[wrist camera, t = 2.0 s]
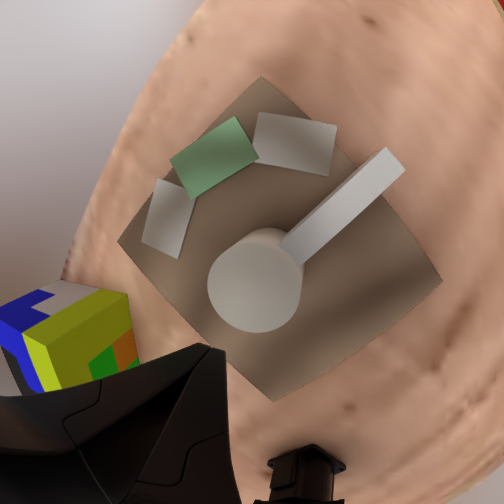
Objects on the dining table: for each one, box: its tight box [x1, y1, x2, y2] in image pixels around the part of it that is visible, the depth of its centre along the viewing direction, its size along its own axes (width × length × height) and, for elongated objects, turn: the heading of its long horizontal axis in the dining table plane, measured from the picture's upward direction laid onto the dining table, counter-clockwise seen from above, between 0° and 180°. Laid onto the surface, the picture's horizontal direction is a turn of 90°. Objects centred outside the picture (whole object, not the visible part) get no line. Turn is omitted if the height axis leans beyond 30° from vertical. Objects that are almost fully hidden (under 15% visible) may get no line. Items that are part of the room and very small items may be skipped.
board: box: [117, 76, 443, 402], centre depth 18 cm, size 18×17×2 cm
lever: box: [207, 147, 405, 333], centre depth 14 cm, size 11×4×5 cm, turn 135°
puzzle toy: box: [0, 280, 140, 395], centre depth 20 cm, size 10×10×10 cm
